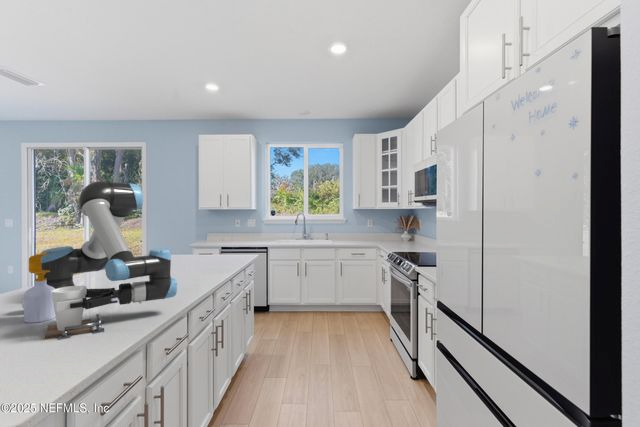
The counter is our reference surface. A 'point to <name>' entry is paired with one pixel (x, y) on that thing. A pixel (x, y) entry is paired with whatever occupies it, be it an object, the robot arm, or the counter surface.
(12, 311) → the counter surface
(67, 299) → the foam cup
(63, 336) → the rail
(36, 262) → the soap bottle
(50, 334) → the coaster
